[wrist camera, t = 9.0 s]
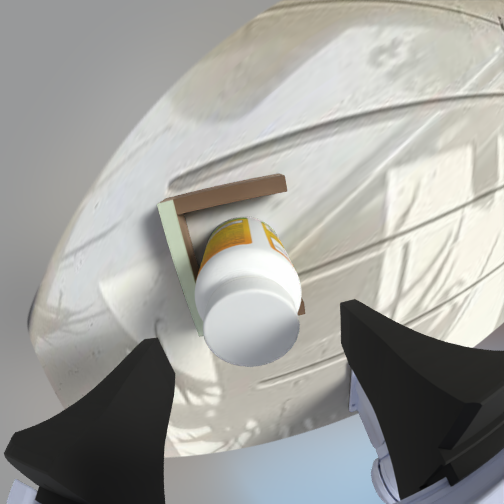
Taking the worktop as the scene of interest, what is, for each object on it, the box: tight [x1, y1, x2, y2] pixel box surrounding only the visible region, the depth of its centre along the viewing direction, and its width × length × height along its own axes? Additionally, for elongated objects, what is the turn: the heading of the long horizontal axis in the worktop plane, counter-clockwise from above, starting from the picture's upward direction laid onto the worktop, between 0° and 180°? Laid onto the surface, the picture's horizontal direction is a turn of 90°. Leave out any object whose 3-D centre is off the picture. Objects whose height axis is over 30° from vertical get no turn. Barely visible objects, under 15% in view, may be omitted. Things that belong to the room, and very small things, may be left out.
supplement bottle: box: [195, 217, 301, 367], centre depth 15 cm, size 5×5×10 cm
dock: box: [157, 174, 305, 337], centre depth 19 cm, size 10×8×2 cm
